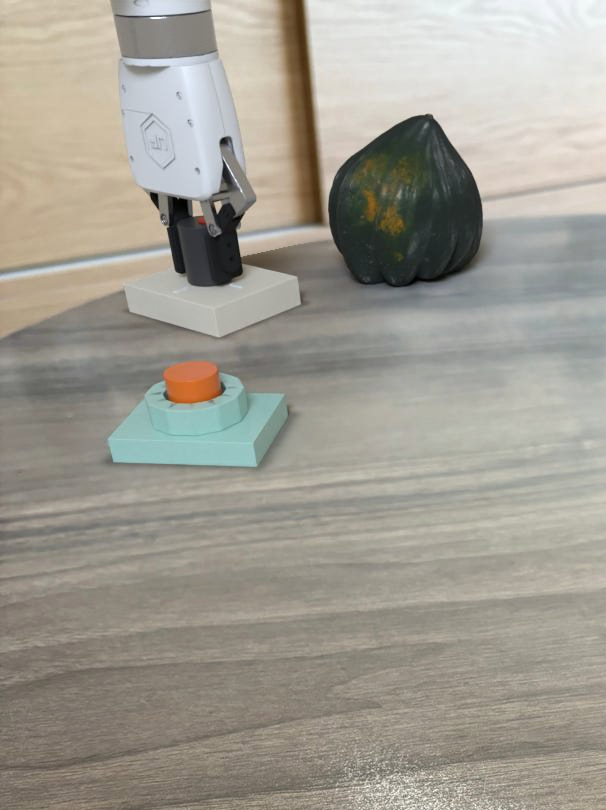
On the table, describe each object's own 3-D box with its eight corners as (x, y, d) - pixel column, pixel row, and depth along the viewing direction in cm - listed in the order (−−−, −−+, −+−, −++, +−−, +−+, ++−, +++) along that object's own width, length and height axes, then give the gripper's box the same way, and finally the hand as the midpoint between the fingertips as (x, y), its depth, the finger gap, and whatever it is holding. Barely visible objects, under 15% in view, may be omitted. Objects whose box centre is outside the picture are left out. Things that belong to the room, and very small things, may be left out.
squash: (275, 229, 96) (361, 99, 87) (351, 197, 107) (435, 79, 98) (382, 342, 98) (478, 227, 88) (446, 299, 109) (537, 193, 100)
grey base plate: (130, 316, 94) (122, 281, 92) (213, 286, 100) (207, 253, 98) (219, 343, 88) (213, 306, 86) (301, 309, 94) (297, 274, 92)
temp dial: (178, 281, 92) (166, 219, 89) (212, 269, 95) (201, 209, 91) (208, 289, 90) (197, 226, 87) (242, 277, 93) (232, 215, 89)
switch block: (114, 468, 70) (100, 413, 67) (157, 418, 76) (145, 366, 74) (258, 473, 69) (248, 417, 66) (289, 421, 75) (281, 369, 73)
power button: (160, 405, 69) (155, 380, 68) (179, 384, 72) (174, 359, 71) (212, 407, 68) (207, 382, 67) (229, 385, 71) (224, 361, 70)
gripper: (62, 38, 83) (116, 269, 94) (202, 51, 75) (243, 303, 86) (137, 28, 88) (180, 249, 99) (277, 39, 79) (306, 279, 90)
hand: (209, 272), depth 92 cm, fingers closed on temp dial, 4 cm apart
